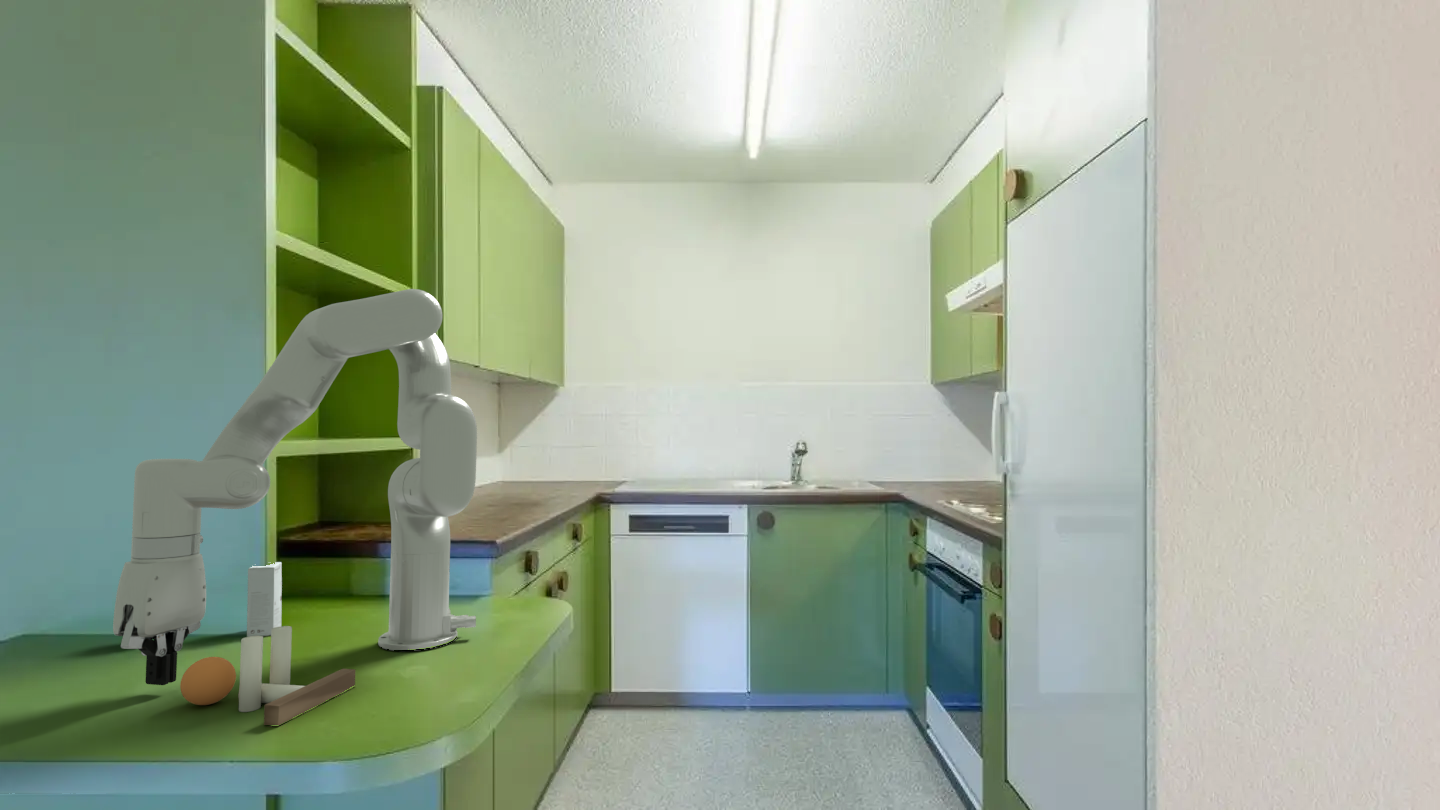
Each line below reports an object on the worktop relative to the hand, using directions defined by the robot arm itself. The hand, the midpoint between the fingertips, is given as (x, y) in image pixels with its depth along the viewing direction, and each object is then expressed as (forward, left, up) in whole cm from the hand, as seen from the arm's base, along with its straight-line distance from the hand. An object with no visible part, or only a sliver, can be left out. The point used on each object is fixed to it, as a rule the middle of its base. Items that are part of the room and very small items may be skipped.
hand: (160, 682), depth 98 cm
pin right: (-15, +6, -2) cm, 17 cm away
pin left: (-13, +11, -2) cm, 16 cm away
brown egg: (-7, +7, +2) cm, 10 cm away
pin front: (-11, +7, 0) cm, 13 cm away
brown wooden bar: (-20, +12, -2) cm, 23 cm away
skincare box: (-6, -31, -2) cm, 31 cm away
